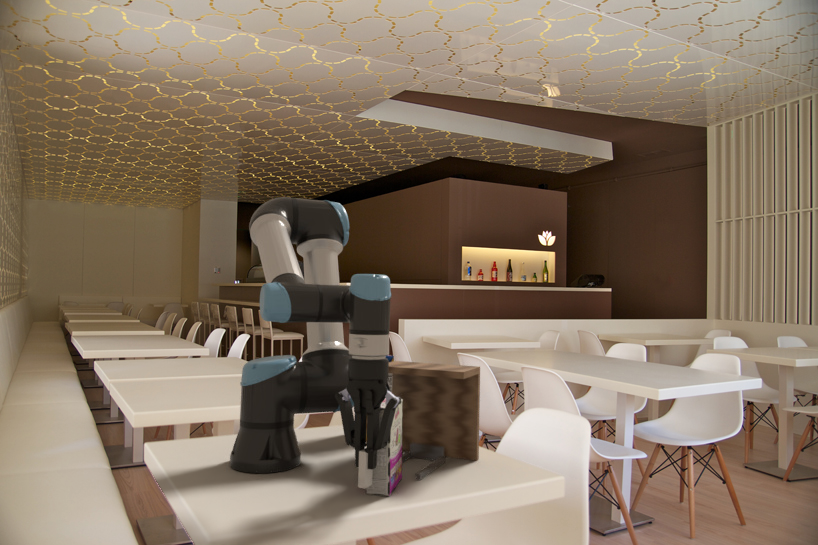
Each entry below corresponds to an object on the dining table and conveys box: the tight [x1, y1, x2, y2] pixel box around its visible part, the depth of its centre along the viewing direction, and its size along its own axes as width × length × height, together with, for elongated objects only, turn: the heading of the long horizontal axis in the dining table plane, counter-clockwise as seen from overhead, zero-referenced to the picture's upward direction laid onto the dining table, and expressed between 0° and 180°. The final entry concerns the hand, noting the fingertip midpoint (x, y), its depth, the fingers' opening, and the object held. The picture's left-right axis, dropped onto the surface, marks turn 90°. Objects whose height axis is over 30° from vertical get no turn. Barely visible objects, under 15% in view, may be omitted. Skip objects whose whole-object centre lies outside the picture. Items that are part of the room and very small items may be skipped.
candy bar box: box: [365, 398, 403, 497], centre depth 112 cm, size 11×5×16 cm, turn 168°
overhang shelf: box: [388, 360, 481, 481], centre depth 128 cm, size 22×21×22 cm
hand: (365, 485), depth 105 cm, fingers closed
